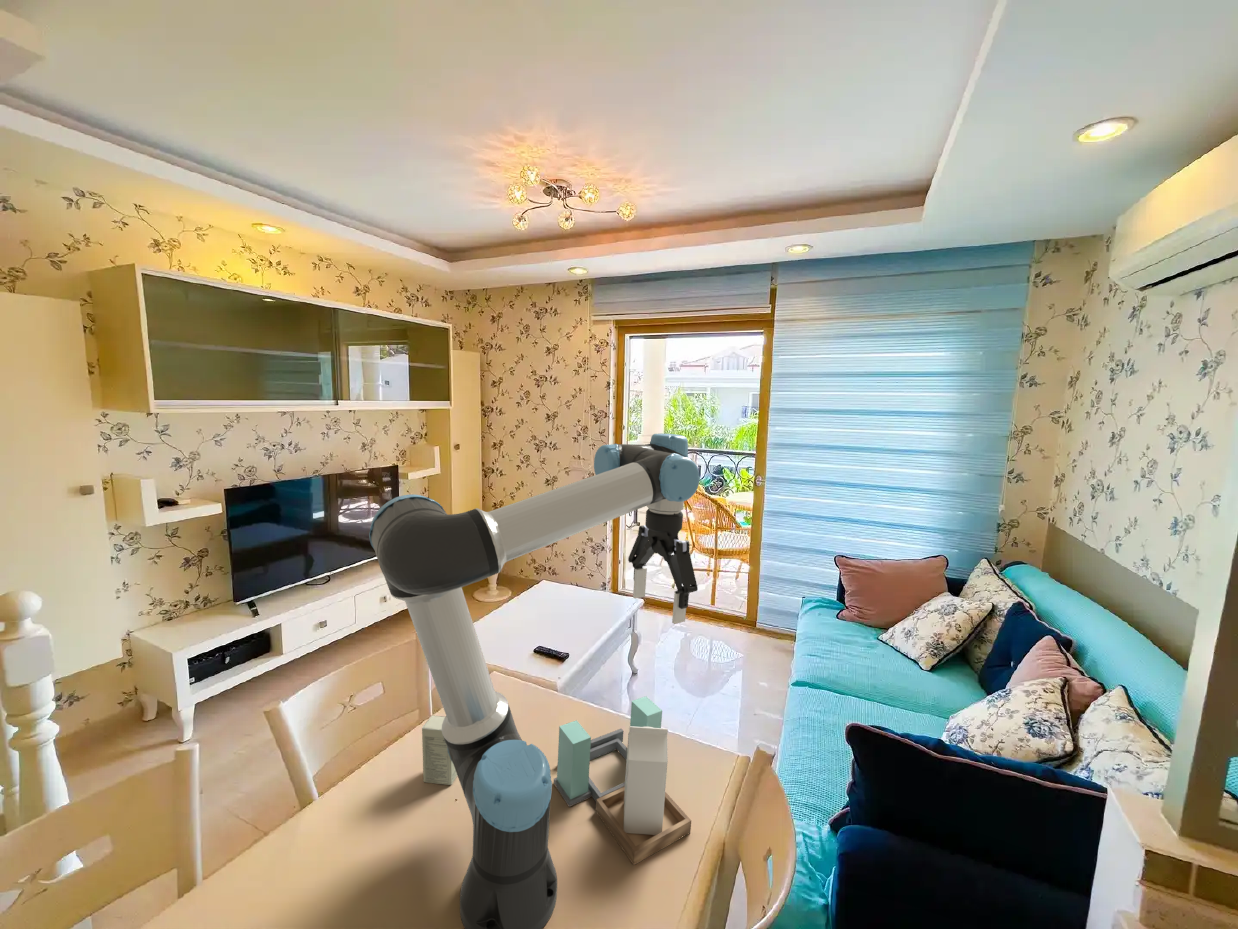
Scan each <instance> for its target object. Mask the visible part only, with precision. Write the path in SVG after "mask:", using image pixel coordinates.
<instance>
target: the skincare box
mask: <svg viewBox="0 0 1238 929" xmlns="http://www.w3.org/2000/svg"><path fill="white" fill-rule="evenodd" d="M445 717H446V716H445V715H444V716H443V715H431V716H430V717H429V718H428V719H427V721H426V722H425V723H424V724H423V726H422V727H421V734H422V741H421V742H422V743H421V744H422V773H423V774H422V777H423V778H422V779H423V782H422V783H429V784H438V785H447V786H449V785H453V783H454V782H455V780H456V778H457V777H458V776H457V773H456V770H455V767H454V764H453V763H452V761H451V759H450V756H449V754H448V750H447V745H446V742H445V740H444V737H443V734H442V723H443V720H444V718H445Z"/></svg>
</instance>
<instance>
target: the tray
mask: <svg viewBox="0 0 1238 929" xmlns="http://www.w3.org/2000/svg"><path fill="white" fill-rule="evenodd" d="M624 792H625V786H624V787H622V788H620V789H618V790H616V791H614V792H611V793H609V794H607V795H605V796H603V797H600V798H598V799H596V801H595V813H596V814H597V816H598V817H599V819H600V820H601V821H602V822H603V823H604V825H605V827H606V828H607V830H608V831H609V832H610V833H611V835H612V837H613V838H614V839H615V841H616V842H617V843H618V845H619V847H620V848H621V850H622V851H623V852H624V854H625V855H626V857H627V858H628V859H629V861H630V862H631V864H632V865H633V866H634V865H636V864H639V863H640V862H642V861H643V860H645V859H647V858H649V857H651V856H652V855H654V854H656V853H657V852H659V851H661V850H663V849H665V848H666V847H668V846H670V845H672V844H673V843H675V842H676V840H677V841H678V839H679V838H680V839H682V838H683V837H682V836H684V835H686V834H687V835H689V834H691V830H692V828H691V827H692V820H691V818H690V817H689V816H688V815H687V813H685V811H684V810H682V808H681V807H680V806H679V805H678V804H677V803H676V802H675V800H673V798H671V797H670V795H669V794H668V793H667V792H666V791H665V801H664V814H663V827H662V832H661V833H659V834H657V835H648V834H633V833H626V832H625V831H624ZM688 833H689V834H688ZM687 835H686V836H687ZM681 837H682V838H681ZM684 837H685V836H684ZM680 839H679V840H680ZM674 841H675V842H674ZM671 843H672V844H671ZM664 847H665V848H664Z"/></svg>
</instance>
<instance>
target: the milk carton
mask: <svg viewBox="0 0 1238 929" xmlns="http://www.w3.org/2000/svg"><path fill="white" fill-rule="evenodd" d="M628 729H629V730H628V731H629V732H628V734H627V746H626V747H627V760H626V765H625V777H624V782H625V792H624V831H625V832H626V833H633V834H648V835H657V834H659V833H661V832H662V827H663V814H664V801H665V792H666V788H667V785H666V784H667V777H668V776H667V773H668V763H669V762H668V758H669V757H668V756H669V754H668V750H669V749H668V748H669V747H668V732H669V731H668V730H669V729H668V728H662V727H661V728H653V727H647V726H644V727H634V726H630V725H629V728H628Z"/></svg>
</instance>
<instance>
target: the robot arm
mask: <svg viewBox="0 0 1238 929" xmlns="http://www.w3.org/2000/svg"><path fill="white" fill-rule="evenodd" d="M649 441H650V442H649V443H647V444H646V443H645V444H632V443H631V444H626V443H625V444H624V443H623V444H622V443H621V444H618V443H613V444H603V445H601V446H599V447H598V449H597V450H596V452H595V454H594V459H593V470H594V475H593V476H592V475H591V476H589V477H587V478H583V479H581V480H577V481H575V482H571V483H568V484H566V485H562V486H560V487H557V488H554V489H551V490H548V491H545V492H543V493H540V494H537V495H534V496H531V497H528V498H525V499H523V500H519V501H517V502H514V503H510V504H508V505H504V506H502V507H499V508H496V509H493V510H490V511H484V510H482V509H480V508H478V507H476V508H474V509H470V510H468V511H464V512H459V513H451V514H448V513H447V512H446V510H445V509H444V507H443V506H442V505H441V504H440V503H439V502H437V501H436V500H434V499H433V498H429V497H427V496H424V495H420V494H404V495H400V496H395V497H394V498H392V499H390V500H388V501H386V502H385V504H383V505H382V506H381V507H380V508H379V509H378V510H377V511H376V513H375V515H374V516H373V518H372V521H371V525H370V527H369V534H368V536H369V538H368V539H369V542H370V545H371V547H372V548H373V550H374V551H375V556H376V558H377V561H378V566H379V568H380V571H381V573H382V575H383V577H384V580H385V581H386V582H385V583H386V584H387V585H386V586H387V587H388V590H389V593H390V595H391V597H393V598H394V599H397V600H400V601H404V603H405V605H406V608H407V610H408V613H409V616H410V619H411V621H412V624H413V627H414V631H415V633H416V635H417V638H418V641H419V644H420V646H421V650H422V652H423V655H424V657H425V659H426V662H427V663H426V664H427V665H428V669H429V671H430V674H431V677H432V680H433V683H434V685H435V688H436V691H437V693H438V696H439V699H440V702H441V704H442V709H443V710H444V713H445V716H444V717H445V718H444V720H443V723H442V734H443V737H444V740H445V742H446V745H447V750H448V754H449V756H450V759H451V761H452V763H453V764H454V767H455V770H456V773H457V776H456V777H458V780H459V783H460V786H461V789H462V792H463V795H464V798H465V801H466V804H467V807H468V809H469V811H470V812H469V813H470V815H471V820H472V831H473V832H472V857H471V860H470V862H469V865H468V868H467V870H466V872H465V875H464V878H463V880H462V883H461V888H460V893H459V894H460V895H459V914H460V920H461V922H462V925H463V927H464V929H544V927H545V926H546V925H547V923H548V922H549V920H550V919H551V916H552V914H553V912H554V909H555V906H556V902H557V897H558V875H557V872H556V867H555V863H554V861H553V857H552V855H551V852H550V850H549V835H550V834H549V833H550V831H549V830H550V818H551V817H550V812H551V798H552V787H553V782H552V776H551V767H550V762H549V761H548V758H547V757H546V755H545V754H544V752H543V751H542V750H541V749H540V748H539V747H538V746H536V745H535V744H533V743H530V744H527V741H526V740H523V739H522V737H521V736H520V733H519V731H518V729H517V726H516V723H515V720H514V717H513V713H512V711H511V708H510V705H509V702H508V699H507V697H506V696H505V695H504V694H503V693H501V692H498V691H495V687H494V684H493V681H492V678H491V675H490V672H489V668H488V665H487V662H486V660H485V656H484V652H483V650H482V647H481V644H480V641H479V638H478V635H477V631H476V628H475V625H474V622H473V620H472V615H471V612H470V610H469V606H468V603H467V599H466V597H465V594H464V590H463V588H464V587H467V586H469V585H472V584H475V583H478V582H481V581H482V580H485V579H487V578H490V577H492V576H495V575H497V574H499V573H501V572H502V569H503V568H504V565H505V564H506V563H507V562H509V561H512V560H514V559H517V558H519V557H522V556H524V555H527V554H530V553H531V552H534V551H537V550H540V549H542V548H544V547H547V546H550V545H552V544H554V543H558V542H559V541H562V540H564V539H567V538H569V537H571V536H574V535H577V534H579V533H582V532H584V531H586V530H590V529H592V528H594V527H598V526H600V525H602V524H604V523H607V522H610V521H612V520H615V519H618V518H619V517H622V516H624V515H627V514H630V513H632V512H634V511H635V512H636V511H637V510H640V509H642V508H645V507H647V508H648V509H647V510H646V511H645V523H644V525H639V526H638V533H637V537H636V539H635V541H634V543H633V546H632V549H631V551H630V553H629V556H628V558H627V561H628V563H631V564H632V568H633V591H632V592H633V593H632V598H633V599H640V598H645V597H646V586H647V573H648V572H647V571H648V568H647V563H648V562H649V561H650V559H652V557H653V555H654V554H658V555H659V556H660V557H663V560H664V562H666V563H667V565H668V568H669V570H670V573H671V576H672V579H673V581H674V584H675V587H676V589H677V590H674V593H673V605H672V606H673V608H672V619H671V620H672V622H671V623H672V624H674V625H677V624H680V623H683V622H686V615H687V613H686V612H687V609H688V606H689V598H690V597H689V596H690V593H695V592H698V590H699V589H698V584H697V580H696V579H697V578H696V574H695V570H694V566H693V561H692V559H691V558H692V557H691V553H690V541H689V540H687V539H686V540H681V539H679V532H680V531H681V530H682V529H683V521H684V520H683V519H684V514H683V512H682V511H683V510H684V506H685V504H684V503H685V502H686V501H688V500H690V499H691V498H692V497H694V495H695V494H696V493H697V490H698V489H699V485H700V480H701V477H700V471H699V467H698V465H697V464H696V462H694V460H692V459H691V458H689V441H688V438H687V436H685V435H682V434H676V433H654V434H652V435H651V436H650V440H649Z"/></svg>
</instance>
